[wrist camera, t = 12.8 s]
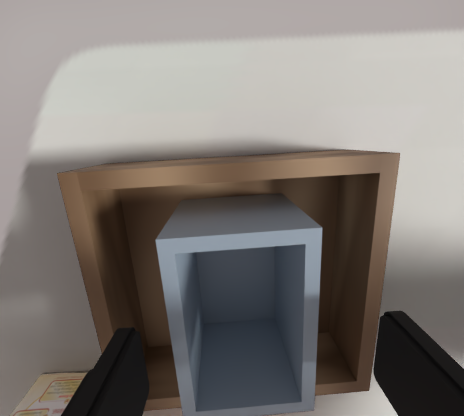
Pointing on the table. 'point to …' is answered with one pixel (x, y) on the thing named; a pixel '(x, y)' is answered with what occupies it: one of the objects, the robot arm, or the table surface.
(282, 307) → the small crate
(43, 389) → the coffeecake box
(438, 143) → the table surface
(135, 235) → the big crate
